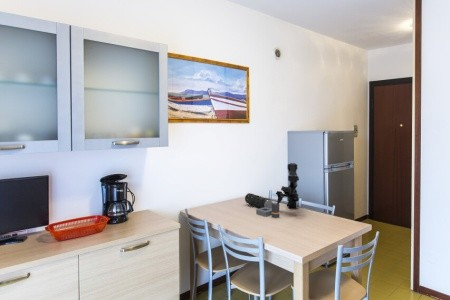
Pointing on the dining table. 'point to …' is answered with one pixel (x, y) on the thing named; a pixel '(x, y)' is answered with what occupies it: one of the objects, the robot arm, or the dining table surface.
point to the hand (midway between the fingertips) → (282, 205)
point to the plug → (275, 210)
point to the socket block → (264, 211)
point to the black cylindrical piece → (258, 201)
